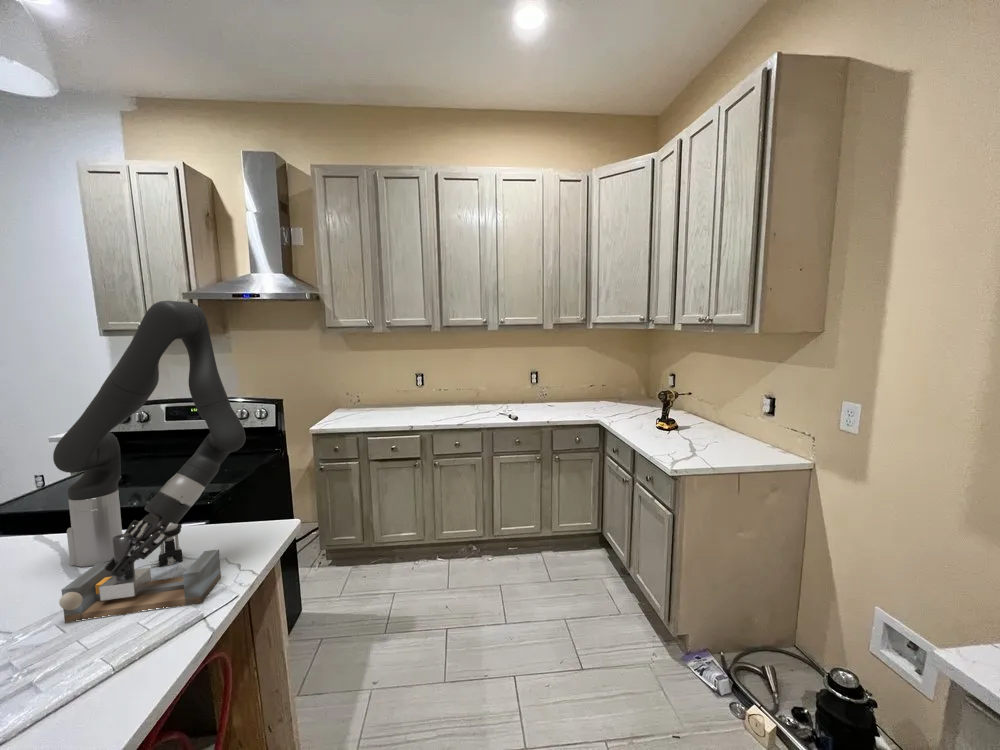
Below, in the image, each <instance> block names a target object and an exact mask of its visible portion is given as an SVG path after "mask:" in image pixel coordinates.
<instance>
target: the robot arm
mask: <svg viewBox="0 0 1000 750" xmlns="http://www.w3.org/2000/svg"><path fill="white" fill-rule="evenodd" d="M210 333H211V332H210V327H209V323H208V321H207V317H206V314H205V312H204V311H203V309H202V308H201V307H200V306H198V304H195V303H192V302H188V301H175V300H161V301H157V302H155V303H154V304H152V305H151V306H150V307H149V308H148V309H147V311H146V312H145V313H144V316H143V317H142V320H141V321H140V323H139V326H138V327H137V330H136V332H135V333H134V335H133V338H132V339H131V342H130V344H129V345H128V347H127V348H126V349H125V351H124V352H123V354H122V356H121V357H120V359H119V361H118V362H117V364H116V365H115V366H114V368H113V369H112V371H111V372H110V373H109V374H108V375H107V378H106V379H105V380H104V382H103V383H102V385H101V386H100V389H99V390H98V392H97V393H96V395H95V396H94V398H92V400H91V402H90V403H89V404H88V406H87V407H86V408H85V410H84V411H83V413H82V414H81V416H80V417H79V418H78V419H77V420H76V422H75V423H74V424H73V425H72V426H71V427H70V428H69V429H68V430H67V431H66V433H65V434H64V435H63V436H62V437H61V438H60V440H58V442H57V444H56V445H55V447H54V450H53V454H52V456H53V457H52V459H53V464H54V465H55V467H56V468H57V469H58V470H60V472H61V471H62V472H64V473H69V474H70V473H73V474H74V473H80V472H84V473H83V474H82V476H81V477H80V478H78V479H77V481H75V482H74V483H72V484H71V485H70V486H69V487H68V489H67V498H68V507H69V508H68V509H69V516H70V526H71V527H68V528H67V530H66V535H67V547H68V557H69V565H70V566H72V567H73V566H75V567H81V568H83V567H93V566H94V565H96V564H99V563H107V562H109V563H108V564H107V565H106V566H105V570H107V571H110V572H111V574H112V575H114V576H117V577H122V576H123V575H124V574H125V573H126V571H127V570H128V569H129V568H130V567H131V565H132V564H133V563H134V564H135V562H136V561H140V560H145V559H147V558H148V557H149V556H150V555H151V554H152V553H153V552H154V551H155V550H157V548H159V547H161V544H162V543H163V542H164V543H165V540H166V539H167V538H168V536H166V535H164V531H165V530H166V528H167V527H168V525H169V523H171V522H172V523H174V524H179V522H180V521H181V520H182V519H183V518H184V516H185V515H186V514H187V513H188V511H190V509H191V508H192V507H193V506H194V504H195V503H196V502H197V501H198V499H199V498H200V497H201V495H202V493H203V492H204V490H205V489H206V488H207V487H208V485H209V484H210V483H211V482H212V480H214V478H215V477H216V475H217V474H218V472H219V470H220V466H221V465H222V464H223V462H224V461H225V460H226V458H227V457H228V456H229V455H230V454H231V453H234V452H237V451H238V450H240V449H241V448H242V447H243V446H244V445H245V443H246V439H247V437H246V431H245V428H244V426H243V424H242V423H241V420H240V419H239V416H237V414H236V413H235V410H233V408H232V405H231V402H230V400H229V398H228V394H227V392H226V389H225V387H224V385H223V381H222V380H221V376H220V373H219V370H218V367H217V363H216V361H217V360H216V356H215V353H214V347H213V343H212V339H211V334H210ZM175 340H181V341H182V343H183V344H184V348H186V350H187V354H188V359H189V371H188V389H189V393H190V395H191V400H192V401H193V404H194V406H195V409H196V412H197V413H198V415H199V416H200V418H201V419H202V420H204V421H205V423H206V426H207V428H208V430H209V433H208V434H207V436H206V437H204V439H203V440H202V442H201V443H200V445H199V446H198V448H197V449H196V450H195V452H194V454H193V455H192V456H191V457H190V458H189V459H188V460H187V461H186V462H185V463H184V464H183V465H182V466H181V467H180V469H179V470H178V471H177V472H176V473H175V475H173V476H172V477H171V478H170V479H168V480H167V482H165V484H164V485H163V486H162V487H161V488H160V490H159V491H158V492H157V493H156V494H155V495H154V496H153V497H152V499H150V501H148V503H147V504H146V505H145V506H144V510H145V511H146V512H148V514H146V515H145V516H144V517H143V518H141V520H140V521H139V520H136V519H134V520H132V522H130V524H129V526H128V527H127V529H126V531H124V533H123V527H122V517H121V515H122V514H121V505H120V496H119V493H120V492H119V482H120V480H121V478H122V477H121V476H122V475H121V474H122V472H121V471H122V470H121V468H122V467H121V466H122V465H121V446H120V443H119V441H118V438H117V437H116V436H115V434H114V433H113V432H111V431H112V430H113V429H115V428H116V427H117V426H119V425H120V424H121V423H123V422H124V421H126V420H128V418H130V417H131V416H132V415H134V414H135V413H136V412H137V411H139V410H140V409H141V408H142V407H143V406H144V405H145V404H146V403H147V401H148V400H149V398H150V397H151V395H152V394H153V393H154V391H155V390H156V388H157V386H158V384H159V380H160V370H159V367H160V366H159V365H160V360H161V358H162V356H163V355H164V353H165V352H166V350H167V349H168V347H170V345H171V344H172V343H173V342H174V341H175ZM126 533H130V534H131V536H132V547H131V548H130V550H129V551H128V552H127V554H126V556H124V557H123V558H122V559H121V561H120V562H119V563H118V564H117V565H116V566H115V561H114V551H113V540H112V539H113V538H114V537H115V536H118V535H121V534H126Z"/></svg>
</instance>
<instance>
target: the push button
mask: <svg viewBox="0 0 1000 750" xmlns="http://www.w3.org/2000/svg"><path fill="white" fill-rule="evenodd" d="M182 527H183V525H182V524H180V523H177V524H174V523H172V522H171V523H169V525H168V527H167V528H166V530H165V531H164V535H166V536H168V538H167V539H166V540H165V541H164V542H163V543H162V544H161V545H160V551H159V554H158V558H157V559H156V560H152V561H150V562H149V564H151V565H150V566H149V568H152V567H154V566H155V567H156V566H159V567H160V568H162V567H165V566H170V565H174V564H175V563H181V562H183V559H184V558H183V549H182V548H181V547H180V546H179V545H180V543H179V542H180V541H179V534H180V533H181V532H182ZM153 563H154V564H153ZM161 566H162V567H161Z"/></svg>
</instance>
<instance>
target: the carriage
mask: <svg viewBox="0 0 1000 750" xmlns="http://www.w3.org/2000/svg"><path fill="white" fill-rule="evenodd" d="M112 540H113V551H114V561H115V566H116V565H117V564H118V563H119V562H120V561H121V559H122V558H123V557H124V556H126V554H127V552H128V551H129V550H130V548H131V547H132V536H131V534H130V533H126V534H124V533H122V534H121V535H118V536H115V537H114V538H113V539H112ZM150 581H152V576H151V567H143V568H135V562H134V563H133V564H132V565H131V567H130V568H129V569H128V570H127V571H126V573H125V574H124V575H123V576H122V577H117V576H114V575H113V576H112V577H111V578H110V579H108V580H107V581H106V582H105V583H104V584H102V585H101V586H100V587H99V590H100V600H101V601H103V600H110V599H118V598H125V597H132V596H135V595H136V594H137V593H139V592H140V591H141V590H142V589H143V588H144V587H145V586H146V585H147V584H148V583H149V582H150Z"/></svg>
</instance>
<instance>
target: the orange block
mask: <svg viewBox="0 0 1000 750" xmlns="http://www.w3.org/2000/svg"><path fill="white" fill-rule="evenodd" d="M110 578H111V577H105V578H104V579H102V580H101V581H100V582H99V583H97V584H96V585H95V588H96V594H100V590H99V587H100V586H101V585H102V584H104V583H105V582H106V581H107V580H108V579H110Z"/></svg>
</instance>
